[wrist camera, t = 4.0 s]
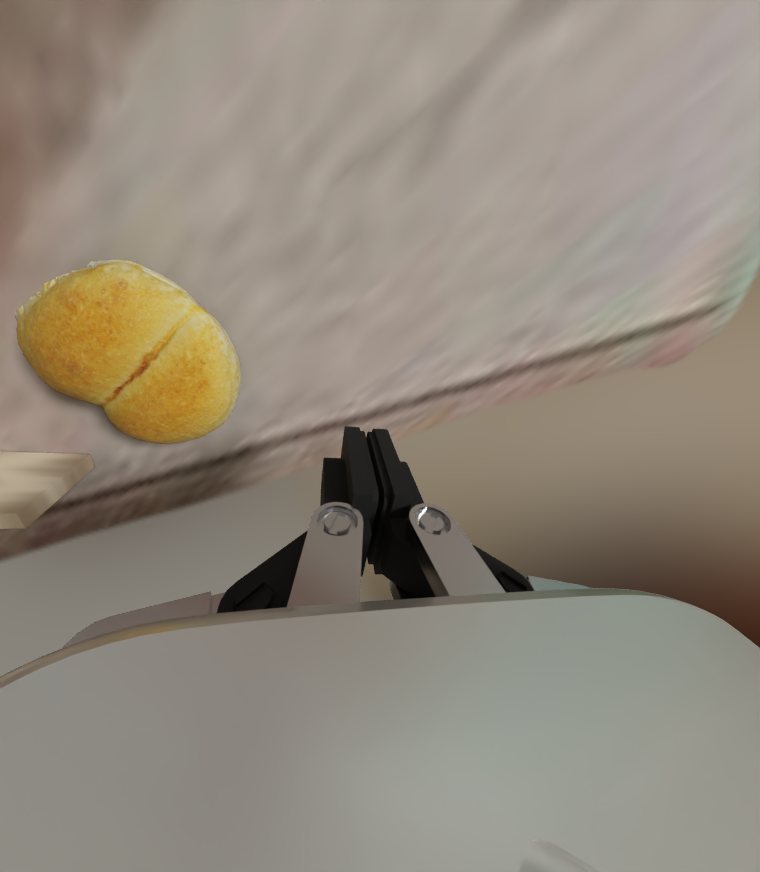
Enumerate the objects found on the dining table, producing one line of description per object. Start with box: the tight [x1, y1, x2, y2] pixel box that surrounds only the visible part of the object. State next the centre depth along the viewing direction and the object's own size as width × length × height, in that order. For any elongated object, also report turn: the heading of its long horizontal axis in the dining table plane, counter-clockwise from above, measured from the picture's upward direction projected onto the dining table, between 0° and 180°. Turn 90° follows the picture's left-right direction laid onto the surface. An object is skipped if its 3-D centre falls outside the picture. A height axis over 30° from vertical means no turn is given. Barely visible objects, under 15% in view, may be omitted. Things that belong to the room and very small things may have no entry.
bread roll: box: [15, 259, 241, 444], centre depth 14 cm, size 8×9×4 cm
